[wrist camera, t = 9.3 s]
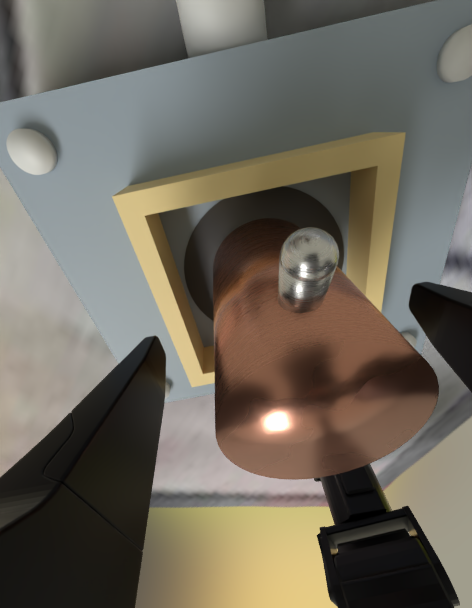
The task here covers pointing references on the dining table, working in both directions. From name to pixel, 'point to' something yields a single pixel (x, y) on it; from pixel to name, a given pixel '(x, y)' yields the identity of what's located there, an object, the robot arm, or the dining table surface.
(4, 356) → the dining table surface
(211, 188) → the grey plate with frame
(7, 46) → the dining table surface
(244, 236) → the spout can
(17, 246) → the dining table surface
